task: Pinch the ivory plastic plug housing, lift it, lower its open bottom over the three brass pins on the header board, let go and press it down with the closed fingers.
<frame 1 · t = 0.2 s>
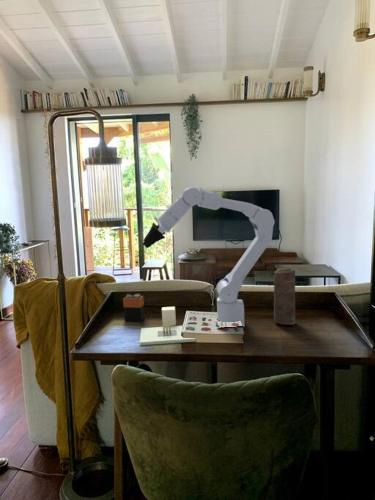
hand: (145, 244, 132), 31 cm above the table, tool tilted 45°, fingers open, 7 cm apart
header board: (167, 336, 131), on the table
housing: (169, 324, 142), on the table
candle: (284, 324, 138), on the table
battery: (134, 320, 148), on the table
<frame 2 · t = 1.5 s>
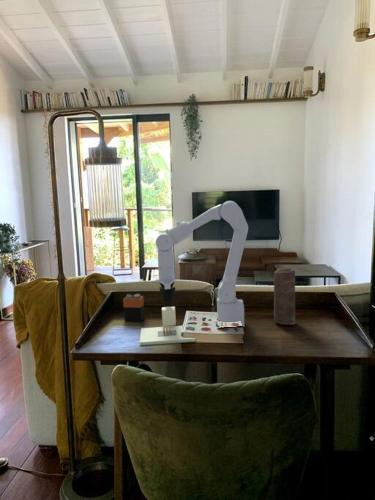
hand: (168, 303, 141), 8 cm above the table, tool pointing down, fingers open, 7 cm apart
nothing on the table moved.
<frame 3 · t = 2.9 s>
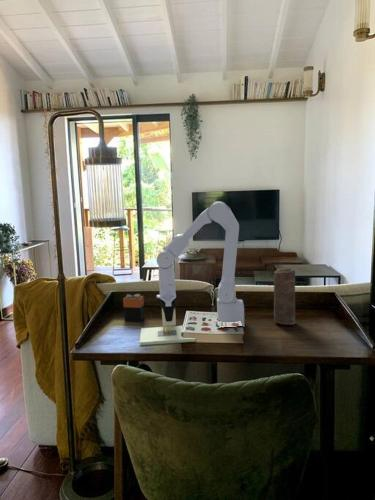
hand: (168, 319, 142), 2 cm above the table, tool pointing down, fingers closed on housing, 3 cm apart
housing: (169, 324, 142), on the table, touching gripper
everything else where it was.
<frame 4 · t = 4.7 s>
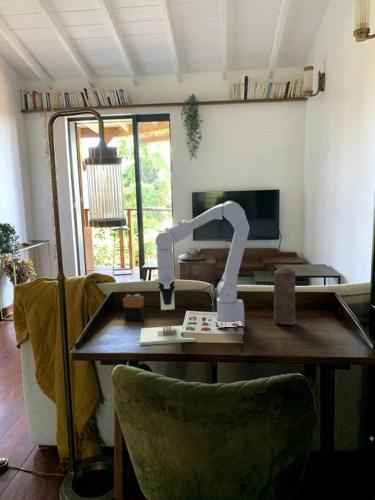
hand: (167, 302, 138), 9 cm above the table, tool pointing down, fingers closed on housing, 3 cm apart
housing: (167, 307, 139), point 7 cm above the table, touching gripper
everything else where it was.
when the fingers open (4 cm above the table, at t = 6.9 s): housing drops 1 cm, resting on header board.
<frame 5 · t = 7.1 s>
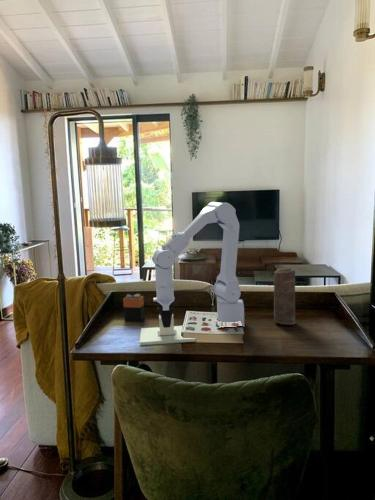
hand: (166, 324, 130), 4 cm above the table, tool pointing down, fingers open, 5 cm apart
housing: (167, 332, 131), point 1 cm above the table, touching header board
everything else where it was.
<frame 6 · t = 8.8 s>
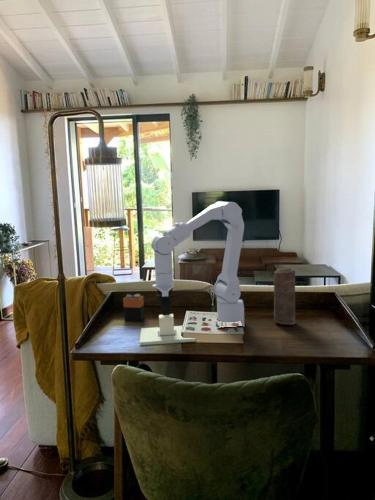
hand: (165, 311, 130), 9 cm above the table, tool pointing down, fingers open, 7 cm apart
nothing on the table moved.
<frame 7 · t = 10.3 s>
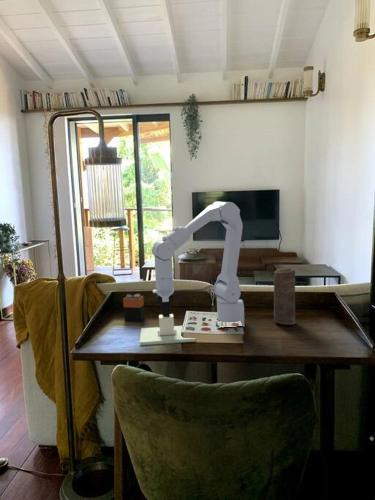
hand: (166, 316, 130), 7 cm above the table, tool pointing down, fingers closed
nothing on the table moved.
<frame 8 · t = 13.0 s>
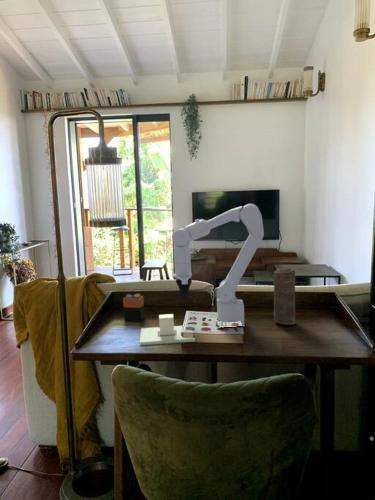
hand: (184, 298, 141), 9 cm above the table, tool pointing down, fingers closed
nothing on the table moved.
at the end: housing 0.0 cm off-centre on the header board, point 1.1 cm above the header board's base; housing tilted 0°; the gripper is holding nothing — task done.
